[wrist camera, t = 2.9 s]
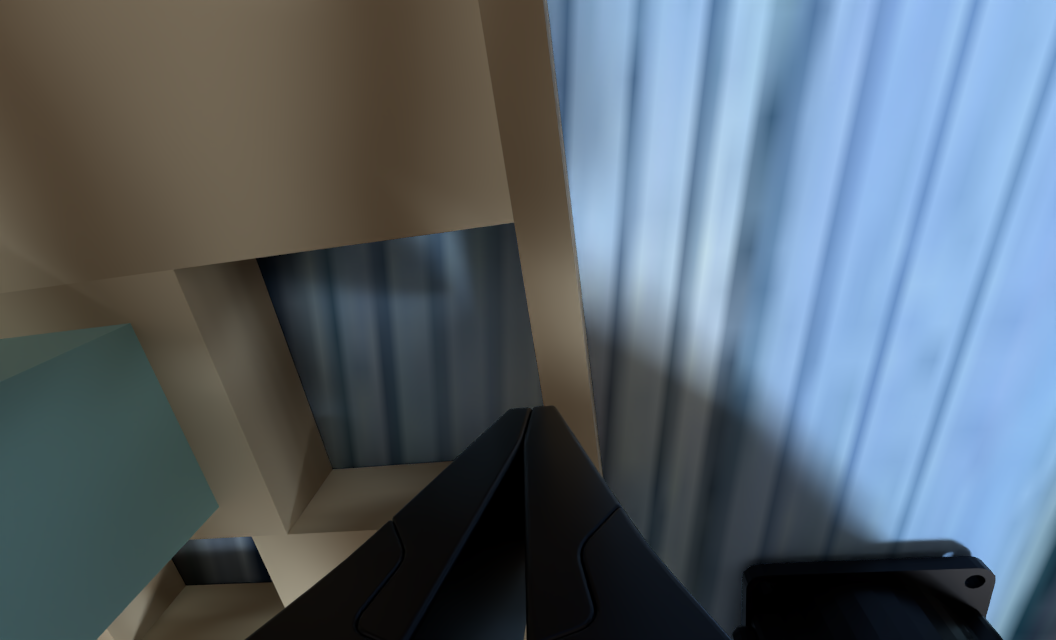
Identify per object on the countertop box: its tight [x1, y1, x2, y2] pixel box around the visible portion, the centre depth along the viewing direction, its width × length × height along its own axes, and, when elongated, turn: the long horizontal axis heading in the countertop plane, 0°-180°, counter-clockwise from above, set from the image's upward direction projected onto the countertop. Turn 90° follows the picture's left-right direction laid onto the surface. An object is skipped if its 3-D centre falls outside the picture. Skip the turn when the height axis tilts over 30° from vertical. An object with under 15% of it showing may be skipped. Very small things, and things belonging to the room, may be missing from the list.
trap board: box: [0, 0, 603, 640], centre depth 11 cm, size 26×18×6 cm
